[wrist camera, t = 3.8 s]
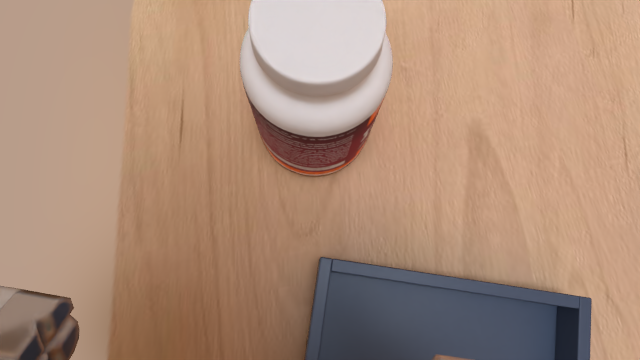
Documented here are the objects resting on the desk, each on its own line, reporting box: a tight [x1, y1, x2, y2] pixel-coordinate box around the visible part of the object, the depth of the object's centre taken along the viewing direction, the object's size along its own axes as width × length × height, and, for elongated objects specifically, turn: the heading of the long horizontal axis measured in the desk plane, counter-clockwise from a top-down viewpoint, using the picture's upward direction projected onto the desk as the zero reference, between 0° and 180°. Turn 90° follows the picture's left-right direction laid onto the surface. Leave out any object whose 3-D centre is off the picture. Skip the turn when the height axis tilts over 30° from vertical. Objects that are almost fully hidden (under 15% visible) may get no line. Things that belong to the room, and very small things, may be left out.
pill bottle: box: [240, 0, 393, 176], centre depth 20 cm, size 6×6×11 cm
